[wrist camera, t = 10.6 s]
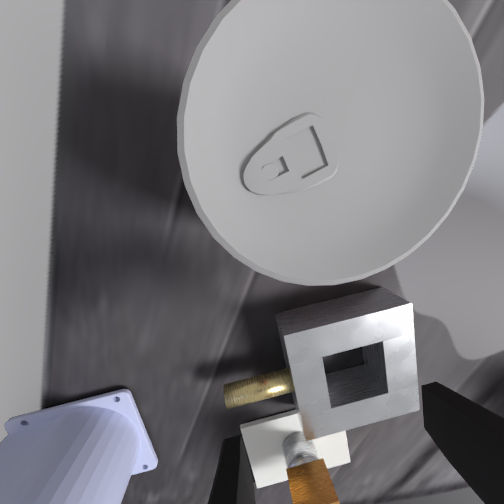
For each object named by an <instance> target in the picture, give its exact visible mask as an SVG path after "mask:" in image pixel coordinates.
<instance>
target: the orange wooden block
mask: <svg viewBox="0 0 504 504" xmlns="http://www.w3.org/2000/svg"><path fill="white" fill-rule="evenodd" d="M282 449H283V453H284V458H285V463H286V467H287V468H286V471H287V476H288V481H289V485H290V490H291V495H292V500H293V504H339V500H338V497H337V494H336V492H335V489H334V486H333V484H332V481H331V478H330V475H329V473H328V470H327V467H326V464H325V462H324V459H323V458H322V459H319V457H318V454H317V451H316V448H315V445H314V443H313V440H309V441H306V440H305V437H304V434H303V432H302V431H298V432H294V433H291V434H289V435H288V436H287V437H286V438H285V439H284V441H283V443H282Z"/></svg>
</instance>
